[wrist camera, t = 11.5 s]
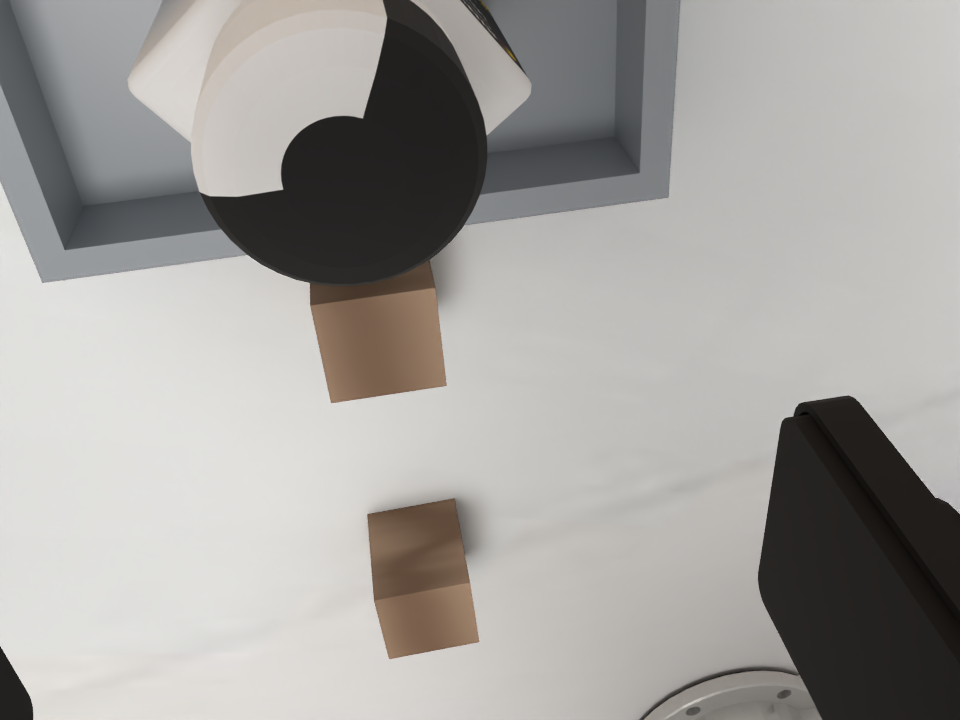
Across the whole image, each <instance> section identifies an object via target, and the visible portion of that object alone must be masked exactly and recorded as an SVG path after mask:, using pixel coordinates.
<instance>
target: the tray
mask: <svg viewBox="0 0 960 720" xmlns="http://www.w3.org/2000/svg"><path fill="white" fill-rule="evenodd" d="M162 1H163V0H0V182H1V184H2V186H3V189H4V191H5V194H6V196H7V198H8V201H9V203H10V206H11V208H12V210H13V213H14V215H15V218H16V220H17V223H18V225H19V227H20V230H21V232H22V235H23V237H24V239H25V242H26V244H27V247H28V249H29V252H30V254H31V256H32V259H33V261H34V264H35V266H36V268H37V271H38V273H39V276H40V278H41V281H42V283H45V282H53V281H60V280H67V279H75V278H82V277H89V276H97V275H104V274H111V273H119V272H126V271H133V270H141V269H148V268H155V267H163V266H170V265H177V264H184V263H192V262H199V261H206V260H214V259H221V258H228V257H236V256H243V255H247V254H246V253H244V252H243V251H242V250H241V249H240V248H239V247H238V246H237V245H235V244H234V243H233V242H232V241H231V240H230V239H229V238H228V237H227V235H226V234H225V233H224V232H223V231H222V230H221V228H220V227H219V226H218V225H217V223H216V222H215V220H214V219H213V217H212V215H211V214H210V212H209V211H208V209H207V207H206V205H205V203H204V201H203V199H202V196H201V194H200V192H199V189H198V185H197V182H196V179H195V175H194V171H193V164H192V157H191V143H190V142H189V141H188V140H187V139H185V138H184V137H183V136H182V135H181V134H179V133H178V132H177V131H176V130H175V129H173V128H172V127H171V126H170V125H168V124H167V123H166V122H165V121H164V120H162V119H161V118H160V117H159V116H158V115H156V114H155V113H154V112H153V111H151V110H150V109H149V108H148V107H147V106H145V105H144V104H143V103H142V102H141V101H139V100H138V99H137V98H136V97H134V95H133V94H132V93H131V92H130V90H129V88H128V81H127V79H128V77H129V75H130V73H131V70H132V68H133V66H134V64H135V61H136V59H137V57H138V55H139V53H140V50H141V48H142V46H143V44H144V41H145V39H146V37H147V35H148V32H149V30H150V28H151V26H152V24H153V21H154V19H155V17H156V15H157V12H158V10H159V8H160V6H161V4H162ZM481 1H482V2H483V3H484V5H485V6H486V7H487V8H488V10H489V11H490V13H491V15H492V17H493V18H494V20H495V22H496V23H497V25H498V27H499V29H500V30H501V32H502V34H503V35H504V37H505V39H506V40H507V42H508V44H509V46H510V47H511V49H512V51H513V52H514V54H515V56H516V58H517V59H518V61H519V63H520V64H521V66H522V68H523V70H524V71H525V73H526V75H527V76H528V78H529V80H530V82H531V84H532V85H531V94H530V95H529V97H528V98H527V100H526V101H525V102H524V103H522V104H521V105H520V106H519V107H518V108H517V109H516V110H515V111H514V112H512V113H511V114H510V115H509V116H508V117H507V118H506V119H505V120H504V121H502V122H501V123H500V124H499V125H498V126H497V127H496V128H495V129H494V130H493V131H491V132H490V133H489V134H488V135H487V156H488V158H487V166H486V174H485V179H484V182H483V186H482V190H481V193H480V196H479V198H478V200H477V203H476V205H475V207H474V209H473V211H472V213H471V215H470V216H469V218H468V220H467V221H466V223H465V224H464V225H470V224H477V223H485V222H492V221H499V220H507V219H514V218H521V217H529V216H536V215H543V214H551V213H558V212H565V211H573V210H580V209H587V208H595V207H602V206H609V205H617V204H624V203H631V202H639V201H646V200H653V199H661V198H668V196H669V179H670V162H671V146H672V129H673V112H674V95H675V78H676V61H677V44H678V27H679V10H680V0H481Z"/></svg>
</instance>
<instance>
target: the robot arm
mask: <svg viewBox="0 0 960 720" xmlns="http://www.w3.org/2000/svg"><path fill="white" fill-rule="evenodd" d="M758 583H759V589H760V594H761V597H762V600H763V603H764V605H765V607H766V609H767V611H768V613H769V615H770V617H771V619H772V621H773V623H774V625H775V627H776V629H777V631H778V633H779V635H780V637H781V639H782V641H783V643H784V645H785V647H786V649H787V651H788V653H789V655H790V657H791V659H792V661H793V663H794V665H795V666H796V668H797V670H798V672H799V674H800V676H801V678H800V677H798V676H796V675H791V674H787V673H783V672H776V671H749V672H741V673H735V674H730V675H724V676H721V677H718V678H714V679H711V680H708V681H705V682H702V683H700V684H697V685H695V686H693V687H690V688H688V689H686V690H684V691H682V692H680V693H678V694H677V695H675V696H673V697H671V698H669V699H668V700H667V701H665V702H664V703H662V704H661V705H660V706H658V707H657V708H655V709H654V710H653V711H652V712H651V713H650V714H649V715H648V716H647V717H646V718H645V719H644V720H960V514H959V513H958V512H957V511H956V510H955V509H954V508H953V507H952V506H951V505H950V504H949V503H947V502H945V501H943V500H941V499H939V498H935V497H934V496H933V495H932V493H931V492H930V491H929V490H928V488H927V487H926V486H925V485H924V483H923V482H922V481H921V480H920V478H919V477H918V476H917V474H916V473H915V472H914V471H913V469H912V468H911V467H910V466H909V464H908V463H907V462H906V461H905V459H904V458H903V457H902V456H901V454H900V453H899V452H898V451H897V449H896V448H895V447H894V446H893V444H892V443H891V442H890V441H889V439H888V438H887V437H886V436H885V434H884V433H883V432H882V431H881V429H880V428H879V427H878V426H877V424H876V423H875V422H874V421H873V419H872V418H871V417H870V415H869V414H868V413H867V412H866V410H865V409H864V408H863V407H862V405H861V404H860V403H859V402H858V401H857V400H856V399H855V398H853V397H851V396H842V397H835V398H829V399H822V400H816V401H809V402H803V403H800V404H799V405H798V406H797V407H796V409H795V413H794V416H793V417H788V418H785V419H784V420H783V421H782V424H781V428H780V434H779V441H778V447H777V454H776V461H775V467H774V474H773V480H772V487H771V493H770V500H769V506H768V513H767V519H766V526H765V533H764V539H763V546H762V552H761V559H760V565H759V572H758ZM0 720H33V707H32V702H31V699H30V696H29V694H28V693H27V691H26V689H25V687H24V686H23V684H22V682H21V681H20V679H19V677H18V676H17V674H16V672H15V671H14V669H13V667H12V665H11V664H10V662H9V660H8V659H7V657H6V655H5V654H4V652H3V650H2V649H1V647H0Z"/></svg>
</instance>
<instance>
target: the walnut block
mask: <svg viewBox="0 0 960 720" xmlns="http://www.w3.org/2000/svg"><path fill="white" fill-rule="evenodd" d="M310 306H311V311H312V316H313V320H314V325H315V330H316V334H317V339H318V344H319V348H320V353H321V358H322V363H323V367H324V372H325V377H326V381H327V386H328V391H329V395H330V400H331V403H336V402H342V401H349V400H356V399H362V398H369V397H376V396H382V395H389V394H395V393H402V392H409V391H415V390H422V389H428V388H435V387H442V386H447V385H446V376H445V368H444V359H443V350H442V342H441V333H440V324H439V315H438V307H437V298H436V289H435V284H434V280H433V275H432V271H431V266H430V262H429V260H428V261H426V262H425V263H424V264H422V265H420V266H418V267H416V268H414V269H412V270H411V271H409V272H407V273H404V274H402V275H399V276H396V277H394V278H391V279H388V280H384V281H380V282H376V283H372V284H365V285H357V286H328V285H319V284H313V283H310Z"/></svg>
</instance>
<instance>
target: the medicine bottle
mask: <svg viewBox="0 0 960 720" xmlns="http://www.w3.org/2000/svg"><path fill="white" fill-rule="evenodd" d="M127 81H128V88H129V90H130V92H131V93H132V94H133V95H134V97H136V98H137V99H138V100H139V101H141V102H142V103H143V104H144V105H145V106H147V107H148V108H149V109H150V110H151V111H153V112H154V113H155V114H156V115H158V116H159V117H160V118H161V119H162V120H164V121H165V122H166V123H167V124H168V125H170V126H171V127H172V128H173V129H175V130H176V131H177V132H178V133H179V134H181V135H182V136H183V137H184V138H185V139H187V140H188V141H189V142H190V143H191V157H192V164H193V171H194V175H195V179H196V182H197V185H198V189H199V192H200V194H201V196H202V199H203V201H204V203H205V205H206V207H207V209H208V211H209V212H210V214H211V215H212V217H213V219H214V220H215V222H216V223H217V225H218V226H219V227H220V228H221V230H222V231H223V232H224V233H225V234H226V235H227V237H228V238H229V239H230V240H231V241H232V242H233V243H234V244H235V245H237V246H238V247H239V248H240V249H241V250H242V251H243V252H244V253H246V254H247V255H248V256H250V257H251V258H253V259H254V260H256V261H257V262H259V263H260V264H262V265H264V266H266V267H268V268H270V269H272V270H274V271H275V272H277V273H280V274H282V275H285V276H288V277H291V278H293V279H296V280H300V281H304V282H309V283H313V284H319V285H328V286H357V285H365V284H372V283H376V282H380V281H384V280H388V279H391V278H394V277H396V276H399V275H402V274H404V273H407V272H409V271H411V270H412V269H414V268H416V267H418V266H420V265H422V264H424V263H425V262H426V261H428V260H429V259H431V258H432V257H433V256H435V255H436V254H438V253H439V252H440V251H441V250H442V249H443V248H444V247H445V246H446V245H447V244H448V243H450V242H451V241H452V240H453V238H454V237H455V236H456V235H457V233H458V232H459V231H460V230H461V229H462V227H463V226H464V224H465V223H466V221H467V220H468V218H469V216H470V215H471V213H472V211H473V209H474V207H475V205H476V203H477V200H478V198H479V196H480V193H481V190H482V186H483V182H484V179H485V174H486V166H487V158H488V156H487V135H488V134H489V133H490V132H491V131H493V130H494V129H495V128H496V127H497V126H498V125H499V124H500V123H501V122H502V121H504V120H505V119H506V118H507V117H508V116H509V115H510V114H511V113H512V112H514V111H515V110H516V109H517V108H518V107H519V106H520V105H521V104H522V103H524V102H525V101H526V100H527V98H528V97H529V95H530V94H531V85H532V84H531V82H530V80H529V78H528V76H527V75H526V73H525V71H524V70H523V68H522V66H521V64H520V63H519V61H518V59H517V58H516V56H515V54H514V52H513V51H512V49H511V47H510V46H509V44H508V42H507V40H506V39H505V37H504V35H503V34H502V32H501V30H500V29H499V27H498V25H497V23H496V22H495V20H494V18H493V17H492V15H491V13H490V11H489V10H488V8H487V7H486V6H485V5H484V3H483V2H482V1H481V0H163V1H162V4H161V6H160V8H159V10H158V12H157V15H156V17H155V19H154V21H153V24H152V26H151V28H150V30H149V32H148V35H147V37H146V39H145V41H144V44H143V46H142V48H141V50H140V53H139V55H138V57H137V59H136V61H135V64H134V66H133V68H132V70H131V73H130V75H129V77H128V79H127Z"/></svg>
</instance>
